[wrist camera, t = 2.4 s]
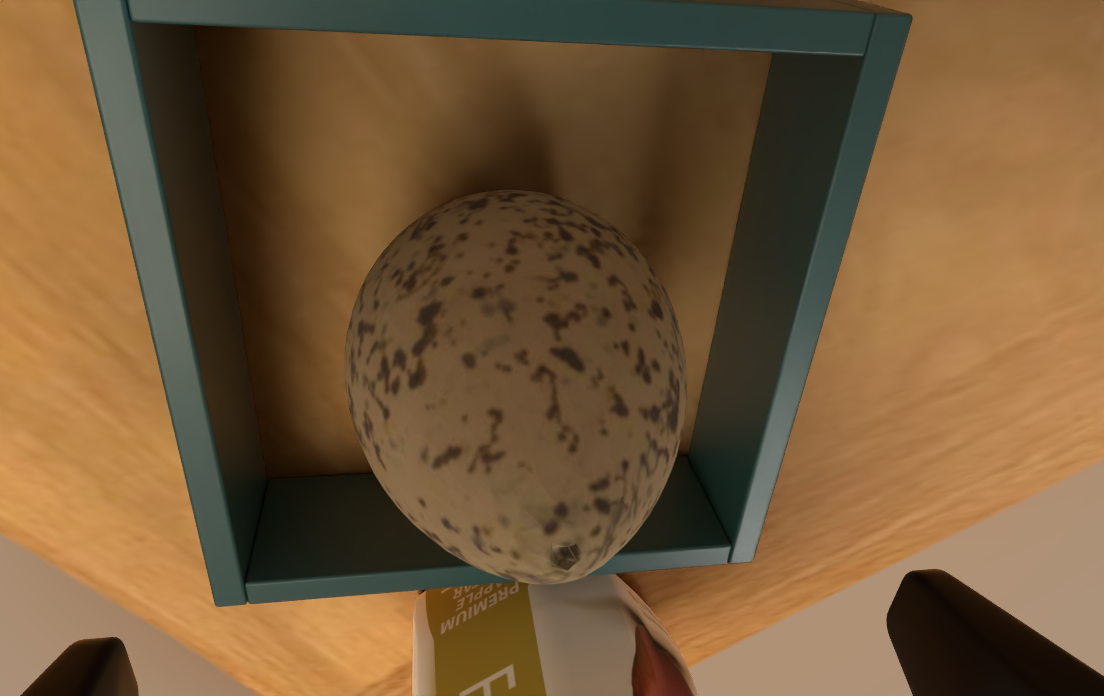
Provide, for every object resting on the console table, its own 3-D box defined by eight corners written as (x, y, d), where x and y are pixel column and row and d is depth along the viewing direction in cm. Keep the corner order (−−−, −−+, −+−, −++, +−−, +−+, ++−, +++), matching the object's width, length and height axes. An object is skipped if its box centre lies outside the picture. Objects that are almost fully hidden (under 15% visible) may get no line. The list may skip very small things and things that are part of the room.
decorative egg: (671, 200, 20) (873, 435, 11) (560, 412, 23) (654, 721, 14) (407, 95, 17) (413, 297, 9) (322, 349, 20) (266, 679, 12)
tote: (817, -11, 17) (916, 14, 14) (706, 472, 25) (753, 563, 22) (138, -55, 15) (61, -36, 12) (242, 500, 22) (214, 608, 19)
